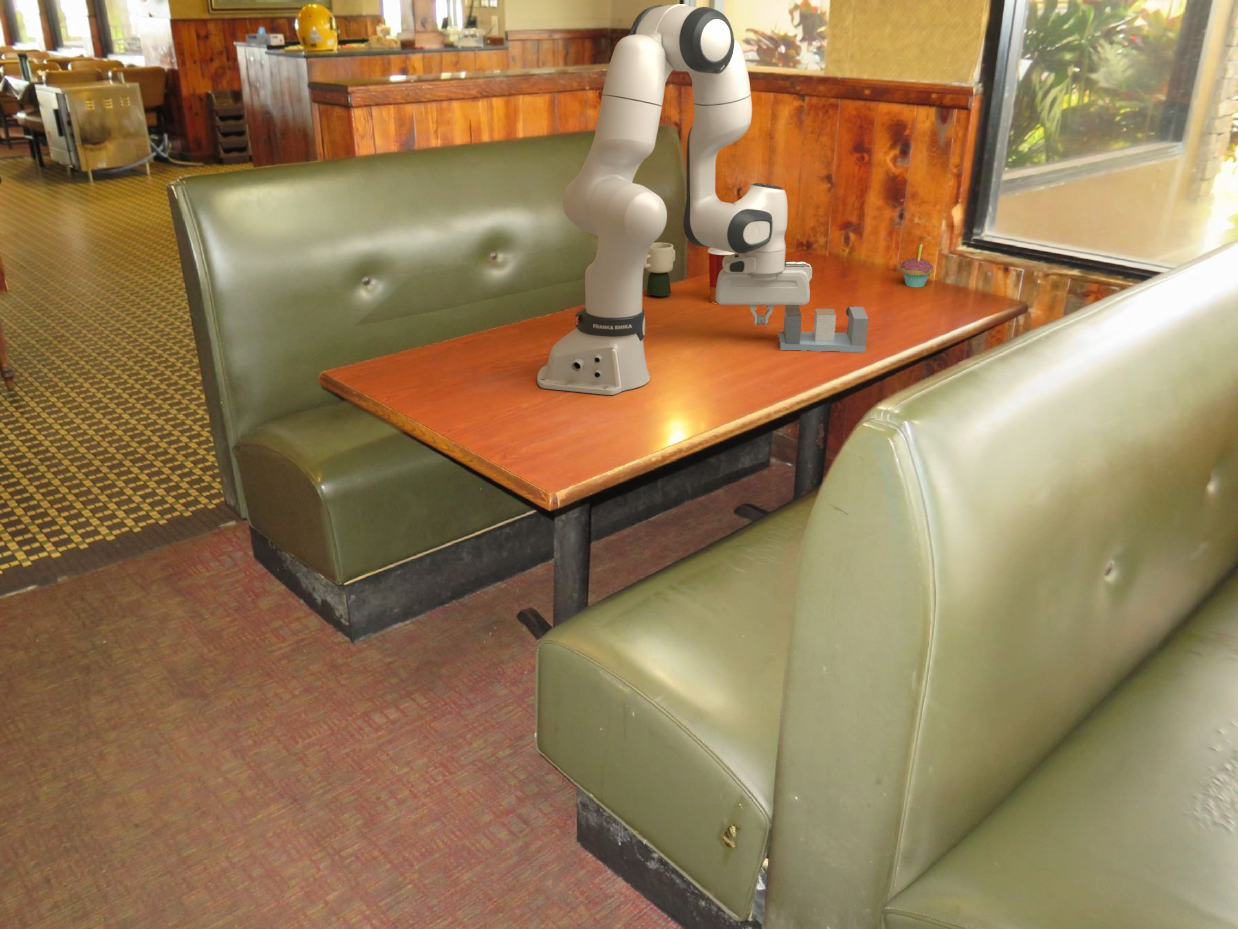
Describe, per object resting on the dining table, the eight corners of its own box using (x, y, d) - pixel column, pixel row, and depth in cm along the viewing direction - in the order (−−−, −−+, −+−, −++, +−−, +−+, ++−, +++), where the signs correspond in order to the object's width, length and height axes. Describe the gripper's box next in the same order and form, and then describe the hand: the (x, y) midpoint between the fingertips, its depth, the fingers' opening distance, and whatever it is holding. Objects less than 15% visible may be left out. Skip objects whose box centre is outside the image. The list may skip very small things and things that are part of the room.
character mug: (664, 289, 263) (665, 239, 257) (683, 294, 258) (684, 244, 252) (633, 296, 256) (633, 246, 251) (652, 302, 251) (652, 250, 246)
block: (815, 341, 217) (817, 315, 214) (813, 334, 221) (815, 308, 219) (833, 342, 216) (836, 315, 214) (831, 335, 221) (833, 308, 218)
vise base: (780, 350, 216) (782, 316, 213) (776, 327, 232) (778, 295, 228) (865, 352, 215) (868, 318, 212) (855, 329, 230) (859, 297, 227)
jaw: (785, 343, 216) (787, 316, 213) (783, 330, 224) (785, 304, 221) (799, 343, 215) (801, 316, 213) (797, 331, 223) (798, 305, 221)
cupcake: (934, 289, 261) (940, 243, 256) (902, 289, 261) (907, 243, 256) (926, 280, 269) (931, 236, 264) (894, 281, 269) (899, 236, 264)
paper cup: (741, 300, 253) (744, 244, 247) (728, 307, 247) (730, 250, 241) (714, 295, 257) (716, 241, 251) (700, 302, 251) (701, 247, 245)
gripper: (811, 257, 215) (806, 319, 221) (716, 257, 217) (714, 319, 222) (815, 264, 210) (810, 328, 216) (717, 264, 211) (715, 327, 217)
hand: (760, 323), depth 219 cm, fingers closed
